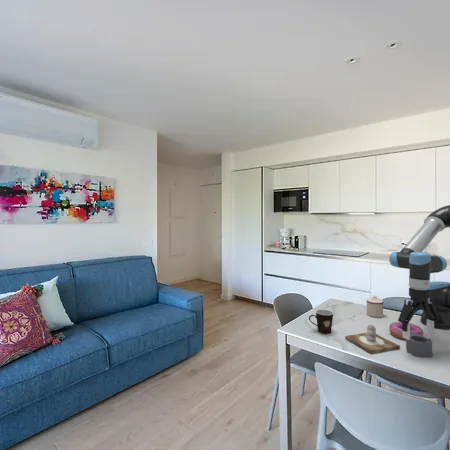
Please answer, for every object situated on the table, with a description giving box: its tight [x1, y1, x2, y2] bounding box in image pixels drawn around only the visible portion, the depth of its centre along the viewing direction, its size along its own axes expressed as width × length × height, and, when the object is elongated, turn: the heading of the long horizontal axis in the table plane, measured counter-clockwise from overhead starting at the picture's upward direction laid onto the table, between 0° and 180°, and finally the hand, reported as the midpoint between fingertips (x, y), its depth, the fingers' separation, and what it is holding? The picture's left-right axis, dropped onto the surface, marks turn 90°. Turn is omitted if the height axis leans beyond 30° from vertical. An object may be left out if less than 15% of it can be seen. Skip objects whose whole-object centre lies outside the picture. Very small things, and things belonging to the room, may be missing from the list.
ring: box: [405, 334, 433, 359], centre depth 124 cm, size 9×9×6 cm
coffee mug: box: [308, 309, 334, 335], centre depth 148 cm, size 12×9×10 cm
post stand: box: [344, 324, 401, 355], centre depth 133 cm, size 16×16×9 cm
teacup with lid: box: [365, 295, 385, 319], centre depth 171 cm, size 12×9×12 cm
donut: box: [389, 321, 424, 341], centre depth 141 cm, size 14×14×5 cm
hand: (418, 336), depth 124 cm, fingers open, 13 cm apart
